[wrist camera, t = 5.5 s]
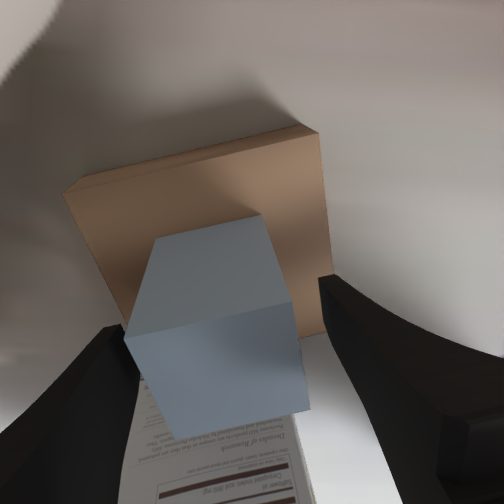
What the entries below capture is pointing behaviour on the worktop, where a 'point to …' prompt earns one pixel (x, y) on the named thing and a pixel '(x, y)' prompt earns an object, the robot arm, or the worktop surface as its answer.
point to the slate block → (217, 330)
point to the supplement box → (213, 462)
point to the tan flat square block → (213, 211)
